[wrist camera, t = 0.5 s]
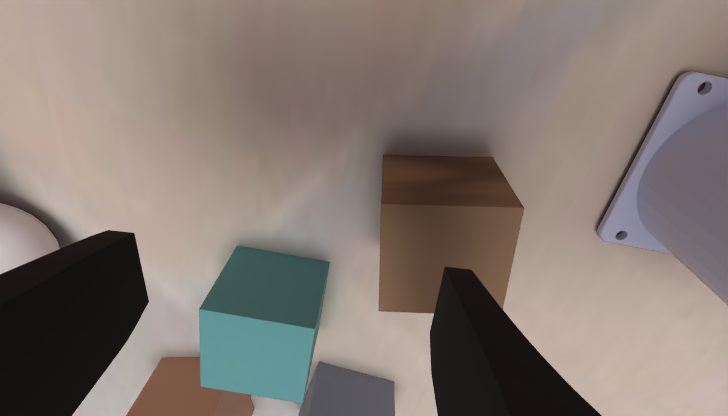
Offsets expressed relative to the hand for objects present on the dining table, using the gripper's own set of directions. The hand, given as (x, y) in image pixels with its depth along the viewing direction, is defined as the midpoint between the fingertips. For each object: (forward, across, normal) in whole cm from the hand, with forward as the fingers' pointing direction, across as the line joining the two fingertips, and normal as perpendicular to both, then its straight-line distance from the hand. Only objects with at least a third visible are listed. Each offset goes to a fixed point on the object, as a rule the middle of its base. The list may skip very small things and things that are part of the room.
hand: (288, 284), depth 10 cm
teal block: (+10, +3, +9) cm, 14 cm away
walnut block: (+10, -5, +3) cm, 12 cm away
